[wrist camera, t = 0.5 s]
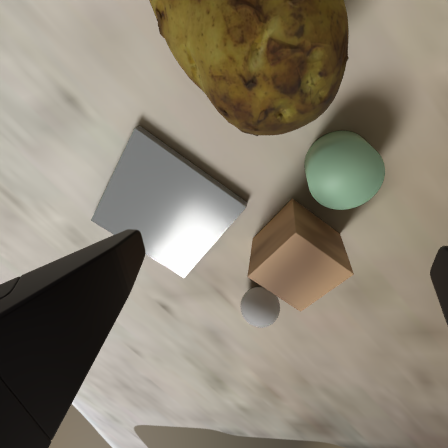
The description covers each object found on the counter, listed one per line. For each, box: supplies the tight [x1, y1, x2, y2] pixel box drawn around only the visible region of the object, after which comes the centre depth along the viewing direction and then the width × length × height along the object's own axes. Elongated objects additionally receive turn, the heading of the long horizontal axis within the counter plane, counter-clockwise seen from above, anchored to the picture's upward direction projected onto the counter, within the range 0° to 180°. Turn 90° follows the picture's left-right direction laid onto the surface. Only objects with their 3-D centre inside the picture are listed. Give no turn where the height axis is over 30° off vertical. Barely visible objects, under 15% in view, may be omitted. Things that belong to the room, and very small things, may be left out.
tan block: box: [248, 198, 354, 312], centre depth 21 cm, size 5×5×5 cm
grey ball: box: [241, 287, 280, 328], centre depth 25 cm, size 4×4×4 cm
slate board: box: [91, 126, 247, 278], centre depth 23 cm, size 10×10×1 cm
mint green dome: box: [304, 131, 385, 210], centre depth 18 cm, size 4×4×3 cm
